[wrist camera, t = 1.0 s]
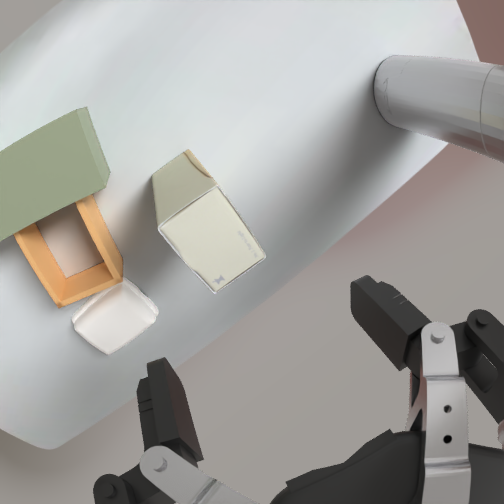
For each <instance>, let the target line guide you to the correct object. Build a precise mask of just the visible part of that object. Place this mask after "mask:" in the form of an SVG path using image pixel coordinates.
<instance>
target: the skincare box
mask: <svg viewBox="0 0 504 504" xmlns="http://www.w3.org/2000/svg"><path fill="white" fill-rule="evenodd" d="M152 184H153V193H154V203H155V212H156V220H157V228H158V231H159V232H160V234H161V235H162V236H163V237H164V239H165V240H166V241H167V242H168V244H169V245H170V246H171V247H172V248H173V250H174V251H175V252H176V253H177V254H178V255H179V257H180V258H181V259H182V260H183V261H184V263H185V264H186V265H187V266H188V267H189V268H190V269H191V270H192V271H193V272H194V274H195V275H196V276H197V277H198V278H199V279H200V280H201V281H202V282H203V283H204V284H205V285H206V286H207V287H208V288H209V289H210V290H211V291H212V293H213V294H216V293H218V292H219V291H220V290H222V289H223V288H225V287H226V286H228V285H229V284H231V283H232V282H234V281H235V280H236V279H238V278H239V277H241V276H242V275H244V274H245V273H247V272H248V271H249V270H251V269H252V268H253V267H255V266H256V265H257V264H259V263H260V262H261V261H263V260H264V259H265V258H266V255H265V253H264V251H263V249H262V248H261V246H260V244H259V243H258V241H257V240H256V238H255V236H254V235H253V233H252V232H251V230H250V229H249V227H248V226H247V224H246V223H245V221H244V220H243V218H242V217H241V216H240V214H239V213H238V211H237V210H236V208H235V207H234V206H233V204H232V203H231V201H230V200H229V199H228V197H227V196H226V194H225V193H224V192H223V190H222V189H221V188H220V186H219V185H218V184H217V183H216V182H215V180H214V179H213V178H212V177H211V175H210V174H209V173H208V172H207V170H206V169H205V168H204V167H203V165H202V164H201V163H200V162H199V161H198V159H197V158H196V157H195V156H194V155H193V153H192V152H191V151H190V150H186V151H185V152H183V153H182V154H180V155H179V156H177V157H176V158H174V159H173V160H172V161H170V162H169V163H167V164H166V165H165V166H163V167H162V168H160V169H159V170H158V171H156V172H155V173H154V174H153V175H152Z"/></svg>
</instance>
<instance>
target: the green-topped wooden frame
mask: <svg viewBox="0 0 504 504" xmlns="http://www.w3.org/2000/svg"><path fill="white" fill-rule="evenodd" d="M109 175H110V170H109V167H108V165H107V162H106V159H105V157H104V154H103V151H102V149H101V146H100V143H99V141H98V138H97V135H96V132H95V129H94V127H93V124H92V121H91V118H90V115H89V112H88V109H87V107H84V108H80V109H76V110H74V111H72V112H70V113H68V114H66V115H64V116H62V117H60V118H58V119H56V120H54V121H52V122H50V123H48V124H46V125H45V126H43V127H41V128H39V129H37V130H35V131H34V132H32V133H30V134H28V135H27V136H25V137H23V138H22V139H20V140H18V141H17V142H15V143H13V144H12V145H10V146H8V147H7V148H5V149H4V150H2V151H1V152H0V241H2V240H4V239H6V238H7V237H9V236H11V235H12V234H13V235H14V237H15V239H16V241H17V242H18V244H19V246H20V248H21V249H22V251H23V253H24V255H25V256H26V258H27V260H28V261H29V263H30V265H31V266H32V268H33V270H34V271H35V273H36V275H37V276H38V278H39V279H40V281H41V283H42V284H43V286H44V287H45V289H46V290H47V292H48V293H49V295H50V296H51V298H52V299H53V301H54V302H55V304H56V305H57V306H58V308H61V307H63V306H66V305H68V304H71V303H73V302H75V301H78V300H80V299H82V298H85V297H87V296H90V295H92V294H94V293H97V292H99V291H102V290H104V289H106V288H109V287H111V286H114V285H116V284H118V283H121V282H123V259H122V257H121V255H120V253H119V251H118V249H117V247H116V245H115V243H114V241H113V239H112V237H111V235H110V233H109V230H108V228H107V226H106V224H105V222H104V220H103V218H102V216H101V213H100V211H99V209H98V207H97V205H96V202H95V200H94V198H93V196H92V194H93V193H95V192H97V191H100V190H102V189H104V188H106V185H107V182H108V178H109ZM74 202H75V203H76V206H77V208H78V210H79V212H80V214H81V216H82V218H83V220H84V222H85V225H86V227H87V229H88V231H89V233H90V235H91V237H92V239H93V241H94V242H95V244H96V246H97V248H98V250H99V252H100V254H101V256H102V258H103V260H104V261H105V262H103V263H100V264H98V265H96V266H93V267H91V268H89V269H87V270H84V271H82V272H80V273H78V274H75V275H73V276H71V277H69V278H66V277H65V276H64V274H63V272H62V271H61V269H60V267H59V266H58V264H57V262H56V260H55V259H54V257H53V255H52V253H51V252H50V250H49V248H48V246H47V245H46V243H45V241H44V239H43V237H42V235H41V233H40V232H39V230H38V228H37V226H36V224H35V222H36V221H38V220H40V219H42V218H44V217H46V216H48V215H50V214H52V213H54V212H56V211H58V210H60V209H62V208H64V207H66V206H68V205H70V204H72V203H74Z"/></svg>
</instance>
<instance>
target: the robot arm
mask: <svg viewBox="0 0 504 504" xmlns="http://www.w3.org/2000/svg"><path fill="white" fill-rule="evenodd" d="M374 96H375V100H376V104H377V107H378V109H379V111H380V113H381V115H382V116H383V118H384V119H385V120H386V121H387V122H388V123H390V124H391V125H393V126H396V127H399V128H403V129H406V130H410V131H414V132H417V133H420V134H423V135H427V136H430V137H433V138H436V139H439V140H442V141H445V142H448V143H451V144H455V145H457V146H460V147H463V148H466V149H469V150H471V151H474V152H477V153H479V154H482V155H485V156H487V157H489V158H492V159H495V160H497V161H500V162H502V163H504V66H501V65H495V64H490V63H483V62H477V61H469V60H461V59H452V58H441V57H428V56H408V55H394V56H391V57H389V58H387V59H386V60H384V61H383V63H382V64H381V65H380V66H379V68H378V70H377V73H376V76H375V82H374ZM350 287H351V312H352V315H353V317H354V319H355V320H356V321H357V323H358V324H359V325H360V326H361V327H362V328H363V329H364V331H365V332H366V333H367V334H368V335H369V336H370V338H372V340H373V341H374V342H375V343H376V344H377V346H378V347H379V348H380V349H381V350H382V351H383V352H384V354H385V355H386V356H387V357H388V358H389V360H390V361H391V362H392V363H393V364H394V366H395V367H396V368H397V369H398V370H399V371H401V370H402V369H404V368H405V367H408V368H409V369H410V370H411V371H410V394H409V395H410V396H409V413H408V418H407V422H406V429H405V431H402V432H397V433H392V431H391V430H390V429H389V430H387V431H385V432H384V433H382V434H381V435H379V436H377V437H376V438H374V439H372V440H370V441H369V442H367V443H366V444H364V445H363V446H362V447H361V448H360V449H359V450H358V451H357V452H356V453H355V454H353V455H352V456H351V457H350V458H349V459H348V460H347V461H345V462H344V463H341V464H338V465H334V466H330V467H325V468H320V469H316V470H312V471H310V472H307V473H305V474H303V475H301V476H298V477H296V478H294V479H291V480H289V481H286V484H287V487H286V488H285V489H283V490H282V491H281V492H280V493H279V494H277V495H276V497H275V498H274V499H273V500H272V501H271V503H270V504H504V326H503V325H502V324H501V323H500V322H499V321H498V320H497V319H496V318H495V317H494V316H493V315H492V314H491V313H490V312H488V311H486V310H481V309H478V310H474V311H472V312H471V313H470V314H469V316H468V318H467V321H466V322H462V323H459V324H455V325H452V326H448V325H446V324H444V323H441V322H431V321H430V320H429V319H428V318H427V317H426V316H425V315H424V314H423V313H422V312H420V311H419V310H418V309H417V308H416V307H415V306H414V305H413V304H412V303H411V302H410V301H407V299H406V298H405V297H404V296H403V295H401V294H400V292H399V291H398V290H396V289H395V288H394V287H393V286H391V285H389V284H387V283H384V282H382V281H381V282H379V283H376V281H374V280H373V279H372V278H371V277H370V276H368V275H366V276H364V277H361V278H359V279H357V280H355V281H353V282H351V286H350ZM483 354H484V355H485V356H486V357H487V358H486V357H485V356H484V355H483ZM489 361H490V362H491V363H492V364H493V365H494V366H495V367H494V366H493V365H492V364H491V363H490V362H489ZM147 371H148V377H146V378H143V379H140V382H139V385H138V388H137V399H138V404H139V405H138V407H139V412H140V422H141V428H142V435H143V441H144V454H143V455H142V457H141V459H140V462H139V464H138V465H137V466H135V467H134V468H133V469H131V470H129V471H128V472H126V473H124V474H122V475H121V476H119V477H118V476H116V475H113V474H106V475H103V476H101V477H100V478H99V479H98V480H97V481H96V482H95V485H94V488H93V494H94V499H95V504H174V503H176V502H177V503H179V504H259V503H257V502H255V501H253V500H251V499H249V498H248V497H246V496H244V495H242V494H240V493H238V492H237V491H235V490H233V489H232V488H230V487H228V486H226V485H225V484H223V483H221V482H220V481H217V480H216V479H214V478H212V477H210V476H209V475H207V474H205V473H204V472H202V471H201V470H199V469H198V465H197V462H198V461H201V460H203V459H204V458H203V455H202V452H201V448H200V445H199V442H198V439H197V435H196V431H195V428H194V424H193V421H192V417H191V413H190V409H189V405H188V402H187V398H186V394H185V390H184V388H183V385H182V383H181V381H180V379H179V377H178V376H177V374H176V373H175V371H174V370H173V368H172V367H171V365H170V364H169V362H168V361H167V359H166V358H165V357H164V358H161V359H158V360H155V361H152V362H149V363H147ZM465 382H466V383H465ZM466 384H468V386H469V387H470V388H471V390H472V391H473V392H474V393H475V394H476V396H477V397H478V398H479V400H480V401H481V402H482V403H483V405H484V406H485V407H486V409H487V410H488V411H489V413H490V414H491V415H492V416H493V418H494V419H495V420H496V422H497V423H498V424H499V426H498V441H499V442H500V443H501V444H502V449H497V448H492V447H486V446H481V445H476V444H471V443H468V411H467V395H466Z"/></svg>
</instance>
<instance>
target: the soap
mask: <svg viewBox="0 0 504 504" xmlns="http://www.w3.org/2000/svg"><path fill="white" fill-rule="evenodd" d="M158 313H159V312H158V308H157V307H156V305H155V304H154V303H153V302H152V301H151V300H150V298H149V297H148V296H147V297H146V296H145V295H144V294H143V293H142V292H141V291H140V290H139V288H138V287H137V286H136V285H134V284H133V283H132V282H131V281H129V280H128V279H127V278H125V277H123V282H121V283H118V284H116V285H114V286H111V287H109V288H106V289H104V290H102V291H99V292H97V293H95V294H94V295H93V296H92V297H91V298H89V299H88V300H87V301H86V302H85V303H84V304H83V305H82V306H81V307H80V308H79V309H78V310H77V311H76V312H75V313H74V314H73V316H72V323H73V324H74V329H75V330H76V331H77V332H78V333H79V334H80V335H81V336H82V337H83V338H84V339H85V340H86V341H88V342H89V343H90V344H91V345H93V346H94V347H96V348H97V349H99V350H100V351H102V352H103V353H105V354H107V355H110V354H112V353H113V352H115V351H117V350H119V349H120V348H122V347H123V346H125V345H126V344H128V343H129V342H131V341H132V340H134V339H135V338H136V337H138V336H139V335H140V334H141V333H143V332H144V331H145V330H146V329H148V328H149V327H150V326H151V325H152V324H153V323H154V322H155V321H156V317H157V316H158Z"/></svg>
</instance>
